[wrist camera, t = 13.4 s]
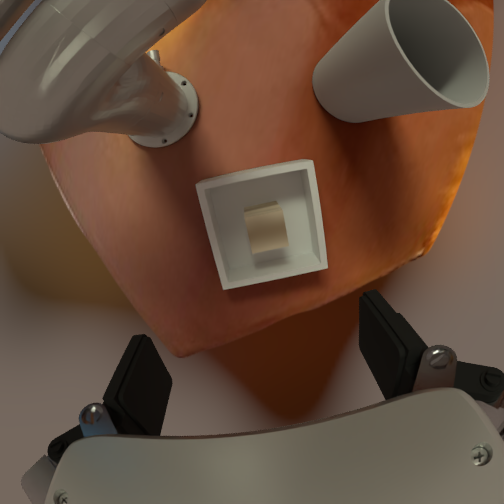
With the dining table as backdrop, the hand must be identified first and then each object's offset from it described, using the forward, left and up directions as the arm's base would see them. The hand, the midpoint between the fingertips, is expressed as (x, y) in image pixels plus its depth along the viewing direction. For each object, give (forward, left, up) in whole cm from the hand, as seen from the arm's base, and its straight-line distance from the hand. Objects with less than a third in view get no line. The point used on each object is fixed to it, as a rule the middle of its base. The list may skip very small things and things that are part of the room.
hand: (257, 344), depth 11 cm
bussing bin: (+3, +2, -33) cm, 33 cm away
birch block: (+3, +2, -32) cm, 33 cm away
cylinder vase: (-16, +20, -34) cm, 42 cm away
